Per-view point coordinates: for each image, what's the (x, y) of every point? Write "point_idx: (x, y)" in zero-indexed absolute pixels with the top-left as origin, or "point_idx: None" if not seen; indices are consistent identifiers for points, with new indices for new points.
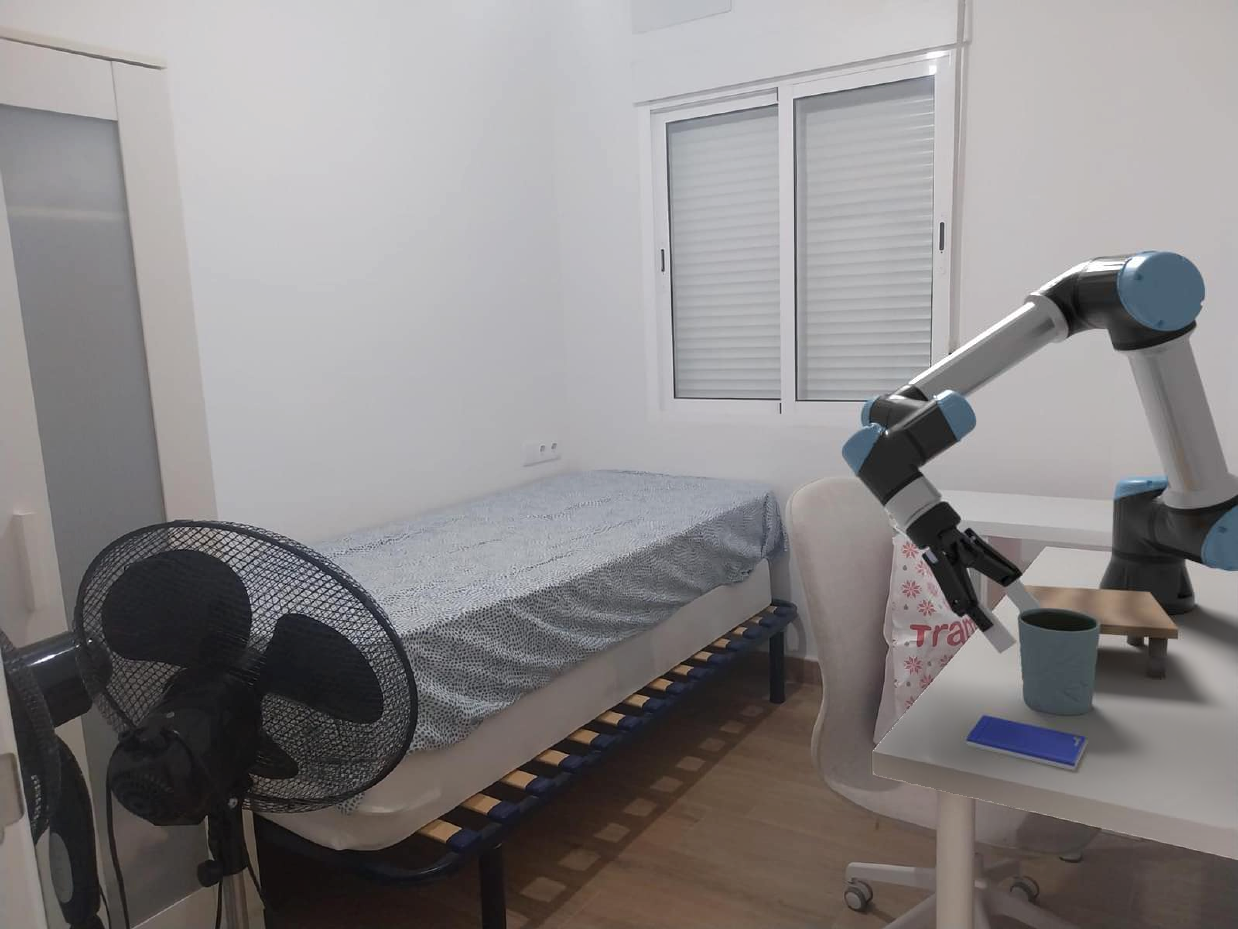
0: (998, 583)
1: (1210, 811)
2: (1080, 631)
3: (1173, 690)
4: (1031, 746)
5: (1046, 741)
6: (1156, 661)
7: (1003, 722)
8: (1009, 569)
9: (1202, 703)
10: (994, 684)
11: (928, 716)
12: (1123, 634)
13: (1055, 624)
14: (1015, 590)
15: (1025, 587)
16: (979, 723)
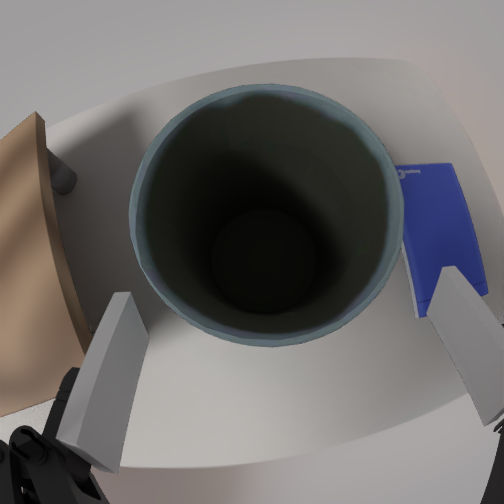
0: (106, 499)
1: (408, 68)
2: (341, 107)
3: (106, 147)
4: (459, 215)
5: (436, 204)
6: (61, 166)
7: (430, 277)
8: (39, 489)
9: (135, 111)
10: (255, 381)
11: (447, 384)
12: (49, 182)
13: (171, 254)
14: (103, 429)
15: (72, 395)
16: None
